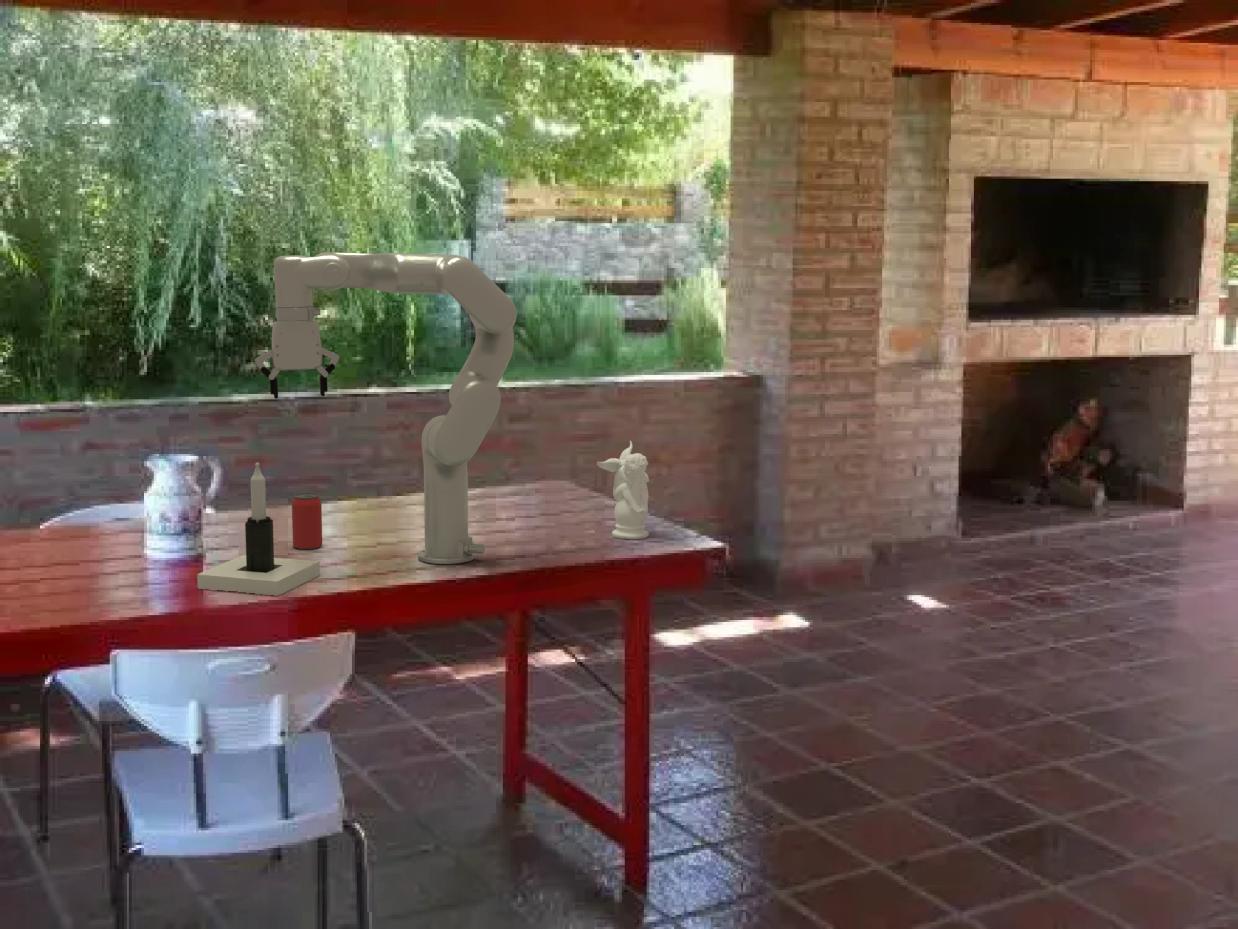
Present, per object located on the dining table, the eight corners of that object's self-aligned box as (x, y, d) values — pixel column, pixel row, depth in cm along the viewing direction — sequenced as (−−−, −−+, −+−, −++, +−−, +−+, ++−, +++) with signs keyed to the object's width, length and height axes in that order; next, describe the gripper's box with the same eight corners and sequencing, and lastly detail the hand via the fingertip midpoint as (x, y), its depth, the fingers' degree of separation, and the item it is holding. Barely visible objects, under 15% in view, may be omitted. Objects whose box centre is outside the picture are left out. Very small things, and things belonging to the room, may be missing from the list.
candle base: (319, 575, 329) (319, 561, 328) (277, 596, 312) (277, 581, 311) (243, 568, 334) (243, 555, 333) (197, 588, 317) (197, 574, 316)
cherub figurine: (649, 542, 364) (650, 448, 360) (595, 541, 364) (596, 448, 360) (647, 529, 376) (649, 439, 372) (596, 529, 376) (597, 439, 372)
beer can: (315, 551, 351) (314, 498, 349) (288, 549, 352) (286, 497, 350) (326, 544, 357) (325, 493, 355) (299, 543, 358) (298, 491, 356)
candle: (275, 578, 325) (272, 460, 321) (271, 585, 320) (267, 464, 316) (250, 578, 325) (247, 460, 321) (246, 585, 320) (242, 464, 316)
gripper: (335, 312, 332) (339, 392, 335) (251, 315, 327) (256, 396, 330) (338, 315, 324) (342, 396, 328) (253, 318, 320) (258, 401, 323)
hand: (299, 396), depth 329 cm, fingers open, 9 cm apart
